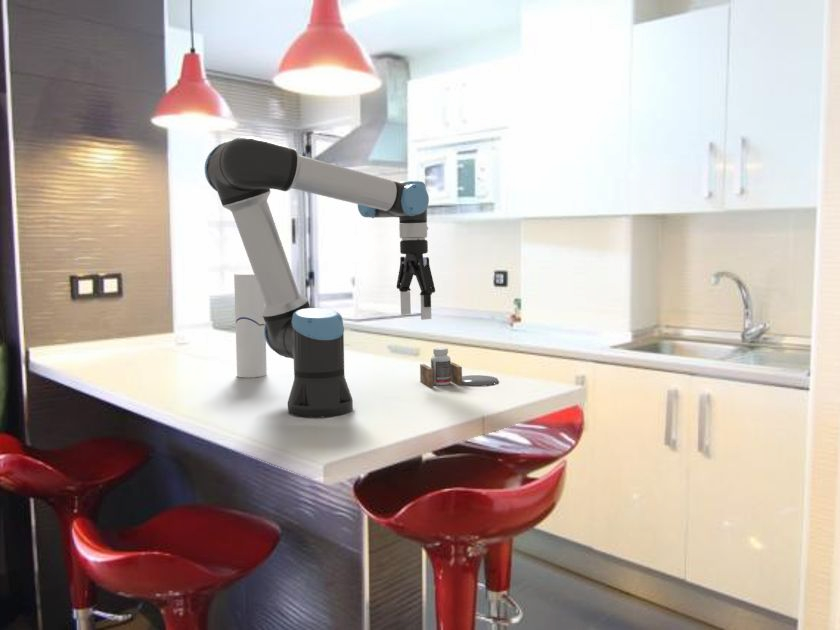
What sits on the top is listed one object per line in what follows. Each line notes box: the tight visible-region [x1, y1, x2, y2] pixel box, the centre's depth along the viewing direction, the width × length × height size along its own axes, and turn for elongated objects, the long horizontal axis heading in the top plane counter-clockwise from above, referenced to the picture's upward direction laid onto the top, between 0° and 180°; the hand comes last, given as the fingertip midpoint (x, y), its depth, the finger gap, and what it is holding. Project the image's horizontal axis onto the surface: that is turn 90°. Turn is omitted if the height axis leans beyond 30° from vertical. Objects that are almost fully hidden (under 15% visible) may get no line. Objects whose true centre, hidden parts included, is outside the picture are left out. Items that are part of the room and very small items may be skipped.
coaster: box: [461, 374, 499, 387], centre depth 194 cm, size 12×12×1 cm
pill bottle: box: [430, 347, 452, 386], centre depth 192 cm, size 5×5×10 cm
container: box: [233, 273, 268, 378], centre depth 207 cm, size 9×9×30 cm
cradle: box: [419, 361, 463, 389], centre depth 192 cm, size 8×9×5 cm
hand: (415, 316), depth 193 cm, fingers open, 13 cm apart
